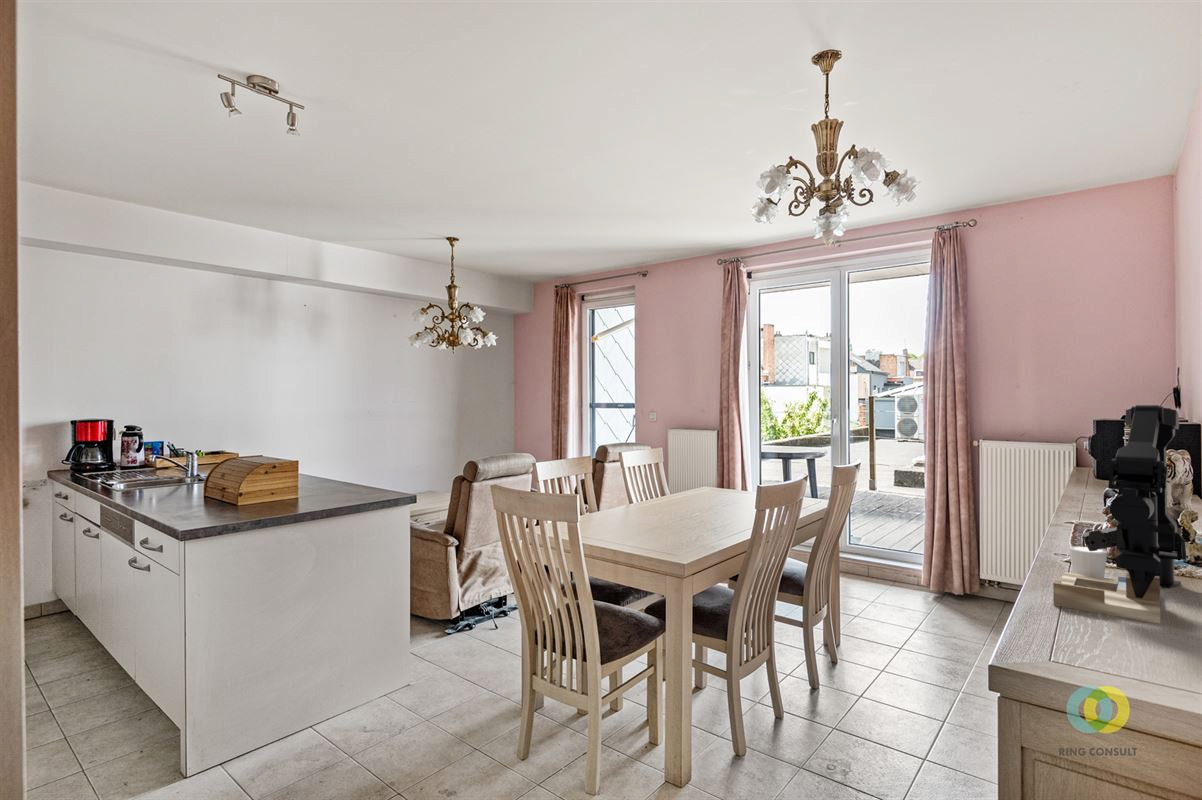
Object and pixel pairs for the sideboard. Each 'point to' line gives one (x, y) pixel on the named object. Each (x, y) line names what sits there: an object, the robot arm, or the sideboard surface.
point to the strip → (1121, 582)
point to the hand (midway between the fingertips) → (1139, 597)
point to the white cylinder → (1088, 561)
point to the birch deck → (1102, 598)
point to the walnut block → (1150, 594)
